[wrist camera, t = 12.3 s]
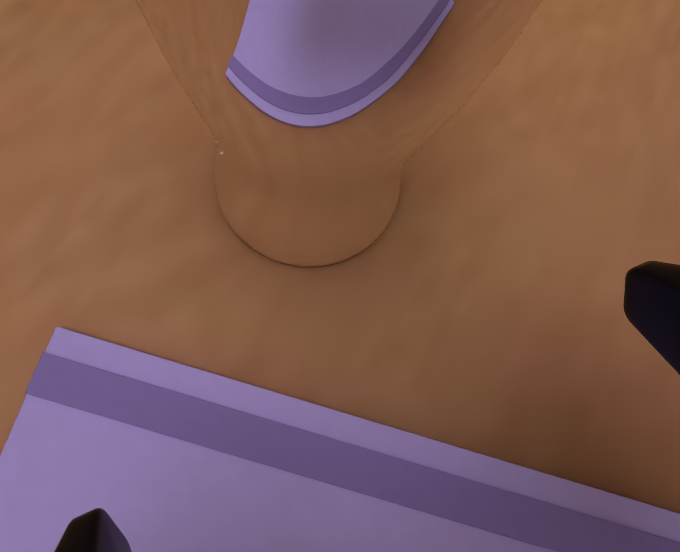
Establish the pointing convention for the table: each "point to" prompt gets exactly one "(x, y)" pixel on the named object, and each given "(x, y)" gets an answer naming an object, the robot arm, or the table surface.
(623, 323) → the table surface
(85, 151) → the table surface
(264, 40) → the silver metal cup
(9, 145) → the table surface
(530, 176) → the table surface
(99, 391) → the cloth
